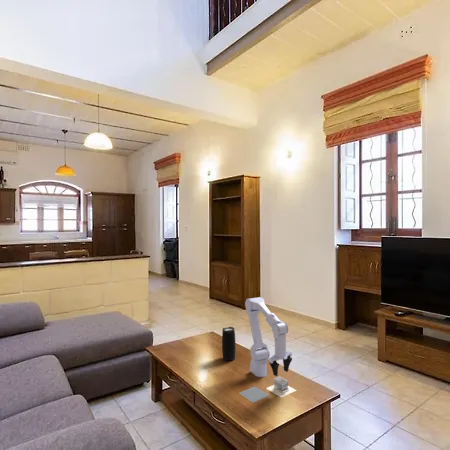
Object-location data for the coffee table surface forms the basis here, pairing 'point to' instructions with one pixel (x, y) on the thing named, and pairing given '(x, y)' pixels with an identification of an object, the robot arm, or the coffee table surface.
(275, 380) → the block
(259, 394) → the stand
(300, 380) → the coffee table surface
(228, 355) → the portable speaker
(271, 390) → the stand
